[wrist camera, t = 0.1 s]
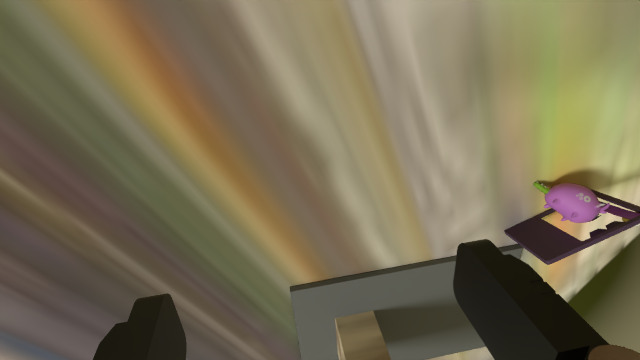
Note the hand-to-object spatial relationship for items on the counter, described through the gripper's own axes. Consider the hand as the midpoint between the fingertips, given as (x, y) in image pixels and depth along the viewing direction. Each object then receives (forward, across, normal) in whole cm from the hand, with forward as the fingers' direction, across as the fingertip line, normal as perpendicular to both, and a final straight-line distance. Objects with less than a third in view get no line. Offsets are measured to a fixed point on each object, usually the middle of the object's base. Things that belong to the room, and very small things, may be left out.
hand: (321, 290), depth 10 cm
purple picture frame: (+18, -24, +12) cm, 32 cm away
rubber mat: (+19, -11, +25) cm, 33 cm away
